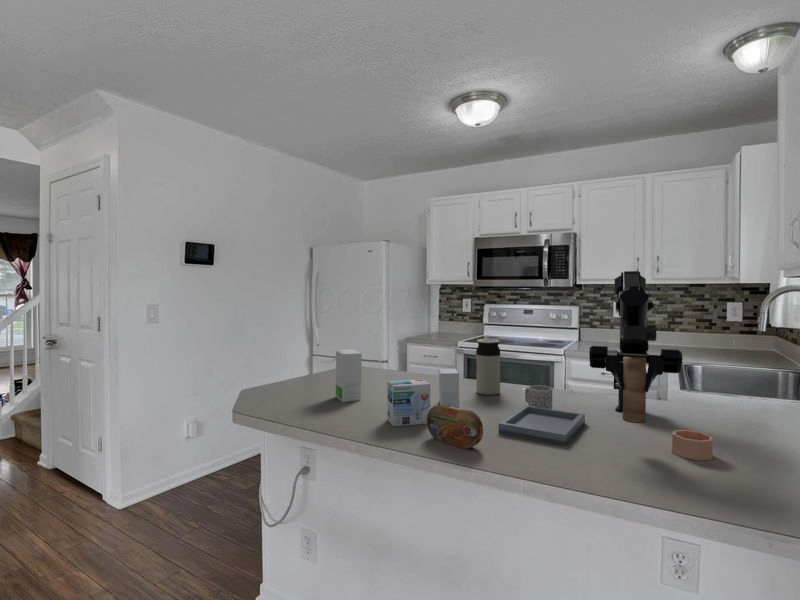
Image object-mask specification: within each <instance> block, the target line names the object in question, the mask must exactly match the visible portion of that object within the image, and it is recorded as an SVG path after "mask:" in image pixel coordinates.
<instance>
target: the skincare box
mask: <svg viewBox="0 0 800 600" xmlns="http://www.w3.org/2000/svg"><path fill="white" fill-rule="evenodd" d="M362 357H363V356H362V353H361V352H360V351H358V350H355V349H354V348H353V349H352V348H351V349H340V350H339V349H337V350H336V351H335V393H334V394H335V397H336V398H337V399H338V400H339V401H341V402H342V403H348V402H355V401H356V402H357V401H361V400H362V398H361V397H362V359H363V358H362Z"/></svg>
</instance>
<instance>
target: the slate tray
mask: <svg viewBox="0 0 800 600" xmlns="http://www.w3.org/2000/svg"><path fill="white" fill-rule="evenodd" d="M585 424H586V414H585V413H581V412H580V413H579V412H573V411H566V410H560V409H553V408H552V409H548V408H541V407H534V406H529V405H526V404H525V405H523V406H522V407H521V408H519V409H518V410H515V412H513V413H512V414H510V415H509V416H506V418H504V419H502V420H501V421H500V422H498V434H501V435H507V436H510V437H511V436H512V437H516V438H522V439H526V440H532V441H539V442H542V443H543V442H544V443H548V444H553V445H559V446H564V447H566V446H567V444H569V442H570V441H571V440H572V439H573V438H574V436H575V435H576V434H577V433H578V432H579V431H580V429H581V428H582V427H583V426H584V425H585Z"/></svg>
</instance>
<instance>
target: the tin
mask: <svg viewBox="0 0 800 600" xmlns="http://www.w3.org/2000/svg"><path fill="white" fill-rule="evenodd" d="M426 426H427V429H428V432H429V434H430V436H432V438H433V439H434V440H436V441H438V442H440V443H444V444H448V445H451V446H454V447H458V448H460V449H471V448H473V447H475V446H477V445H478V444H479V443H481V441H482V439H483V435H484V428H483V427H484V426H483V422H482V420H481V418H480V417H479V415H478V414H477V413H475V412H474V411H472V410H469V409H465V408H460V407H459V408H456V407H451V406H447V405H440V404H439V405H435V406H433V407H430V411H429V413H428V416H427V424H426Z"/></svg>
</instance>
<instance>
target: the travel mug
mask: <svg viewBox="0 0 800 600" xmlns="http://www.w3.org/2000/svg"><path fill="white" fill-rule="evenodd" d="M476 341H477V345H478V346H477V348H476V350H475V351H476V353H475V354H476V362H475V363H476V365H475V366H476V377H475V379H476V384H475V385H476V389H475V390H476V391H475V392H477V393H478V394H479V395H484V396H496V395H498V394H500V393H501V349H500V347H499V344H500V340H499V339H493V338H482V339H481V338H480V339H477V340H476Z"/></svg>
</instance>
